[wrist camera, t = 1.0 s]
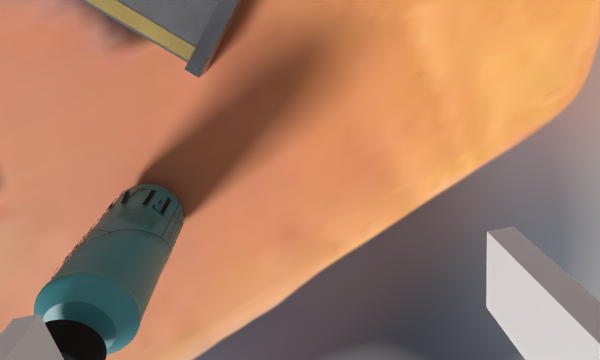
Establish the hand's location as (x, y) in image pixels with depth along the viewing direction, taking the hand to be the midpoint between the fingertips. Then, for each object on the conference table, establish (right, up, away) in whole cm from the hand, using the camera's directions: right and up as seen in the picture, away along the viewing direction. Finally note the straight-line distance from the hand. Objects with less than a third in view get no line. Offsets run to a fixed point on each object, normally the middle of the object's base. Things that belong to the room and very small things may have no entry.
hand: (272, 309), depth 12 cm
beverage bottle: (-13, +1, +27) cm, 30 cm away
